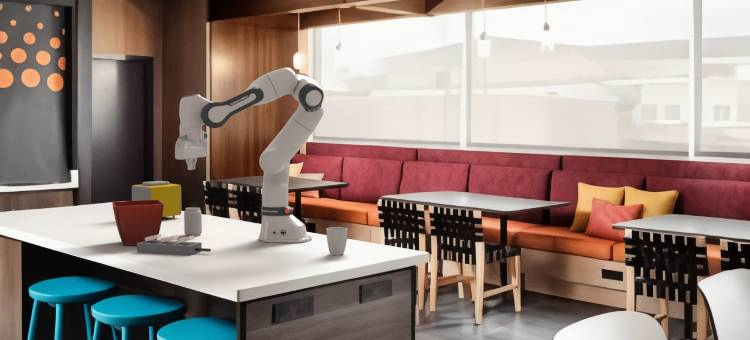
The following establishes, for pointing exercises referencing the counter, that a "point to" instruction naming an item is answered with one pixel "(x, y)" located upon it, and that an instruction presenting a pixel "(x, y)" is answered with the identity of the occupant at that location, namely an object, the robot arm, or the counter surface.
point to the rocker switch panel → (170, 247)
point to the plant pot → (137, 219)
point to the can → (192, 221)
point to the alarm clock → (160, 195)
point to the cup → (336, 240)
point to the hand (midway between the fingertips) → (191, 169)
